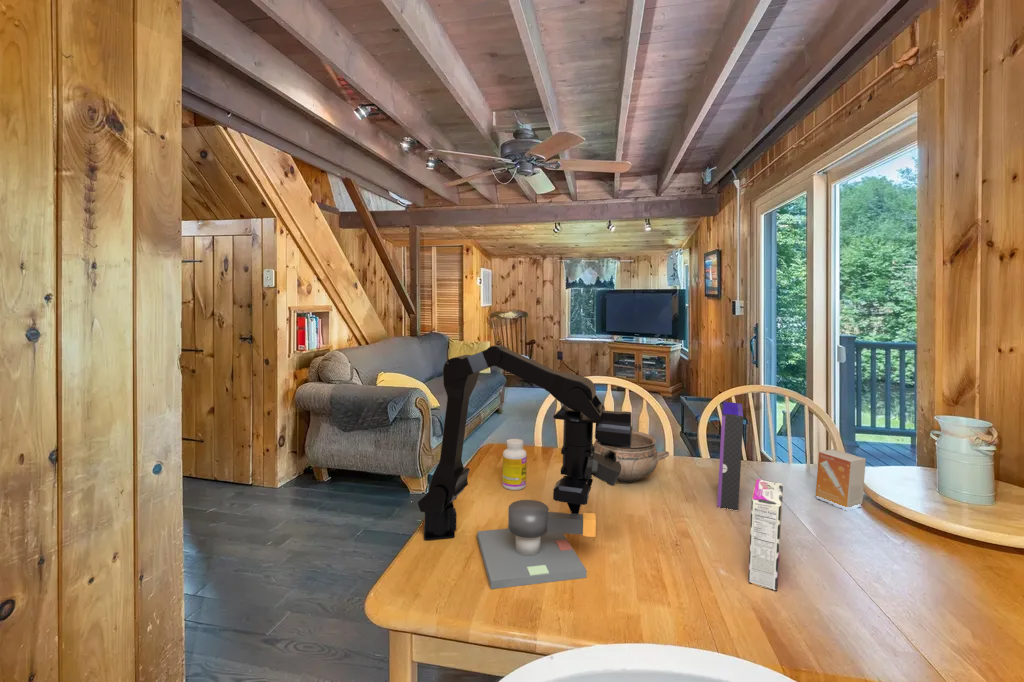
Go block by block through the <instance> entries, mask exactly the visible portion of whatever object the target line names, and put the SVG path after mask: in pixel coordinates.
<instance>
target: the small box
mask: <svg viewBox="0 0 1024 682" xmlns="http://www.w3.org/2000/svg"><path fill="white" fill-rule="evenodd" d="M866 461H867V458H865V457H861V456H857V455H854V454H851V453H848V452H844V451H840V450H837V449H827V450H821V451H819V452H818V462H817V473H816V474H817V475H816V488H815V497H816V496H819V497H822V498H824V499H827V500H829V501H832V502H834V503H837V504H839V505H842V506H845V507H852V506H854V505H858V504H862V505H863V501H864V500H863V499H864V498H863V497H864V487H865V485H864V484H865V473H866V463H867V462H866Z"/></svg>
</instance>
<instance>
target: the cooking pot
mask: <svg viewBox="0 0 1024 682" xmlns="http://www.w3.org/2000/svg"><path fill="white" fill-rule="evenodd" d="M656 442H657V439H656V438H655V437H654V436H653V435H650V434H648V433H645V432H642V431H637V430H632V442H631V449H629V448H621V447H612V446H604V445H601V444H600V442H598V439H595V441H594V443H593V446H595V453H598V454H601V453H602V454H605V453H606V452H607V451H609V450H611V451H613V452H615V453H616V462H618V461H619V462H620V464H621V472H620V474H619V477H618V479H617V481H616V482H619V483H626V484H628V483H633V482H635V481H638V480H640V479H643V478H645V477H648V476H649V475H651V474H652V473H653V472H654V470H656V468H657V465H658V462H659V461H661V460H663V459H666V458H668V457H669V456H670V452H669V451H657V448H656V445H655V444H656Z"/></svg>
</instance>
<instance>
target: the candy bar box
mask: <svg viewBox="0 0 1024 682" xmlns="http://www.w3.org/2000/svg"><path fill="white" fill-rule="evenodd" d="M783 492H784V484H783V483H781V482H776V481H771V480H765V479H761V478H758V479H757V478H756V479H755V483H754V488H753V492H752V497H751V505H750V506H751V507H750V508H751V512H750V534H749V535H750V536H749V555H748V556H749V557H748V578H747V579H748V580H747V583H749V582H751V583H755V584H758V585H760V586H764V587H767V588H770V589H773V590H772V591H774V590H777V591H778V586H779V585H778V584H779V573H780V571H779V570H780V558H781V555H780V553H781V538H782V537H781V536H782V517H783V516H782V515H783V499H784V498H783V496H784V494H783ZM760 586H759V587H760ZM767 588H766V589H767ZM770 589H769V590H770Z"/></svg>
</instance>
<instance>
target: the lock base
mask: <svg viewBox="0 0 1024 682" xmlns="http://www.w3.org/2000/svg"><path fill="white" fill-rule="evenodd" d="M476 534H477V535H476V539H477V542H478V546H479V551H480V554H481V556H482V560H483V561H482V562H483V565H484V568H485V572H486V575H487V579H488V583H489V586H490V589H491V590H495V589H503V588H512V587H521V586H529V585H535V584H544V583H546V584H547V583H554V582H562V581H563V582H564V581H570V580H578V579H586V578H587V571H588V570H587V568H586V567H585V565H584V563H583V562H582V560H581V559H580V557H579V556H578V554H577V552H576V551H575V550H574V548H573V547H572V546H571V544H570V542H569V541H568V539H567V538H566V536H565V533H554V532H547V533H546V534H544V535H542V536H540V537H535V538H524V537H519V536H516V535H514V534H512V533H511V532H510V531H509V529H508V527H507V528H501V529H499V528H498V529H491V530H490V529H489V530H488V529H487V530H477V531H476Z"/></svg>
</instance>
